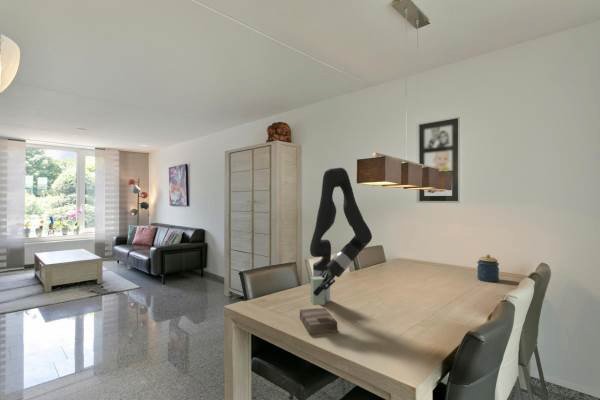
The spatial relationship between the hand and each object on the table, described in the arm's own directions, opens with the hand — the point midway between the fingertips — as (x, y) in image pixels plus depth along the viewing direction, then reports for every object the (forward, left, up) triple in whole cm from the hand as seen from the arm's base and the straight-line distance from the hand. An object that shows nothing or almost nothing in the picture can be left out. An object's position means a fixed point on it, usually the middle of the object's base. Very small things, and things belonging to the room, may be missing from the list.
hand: (313, 292), depth 135 cm
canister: (-49, +138, -14) cm, 147 cm away
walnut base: (0, +2, -14) cm, 14 cm away
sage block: (0, +2, -5) cm, 5 cm away
